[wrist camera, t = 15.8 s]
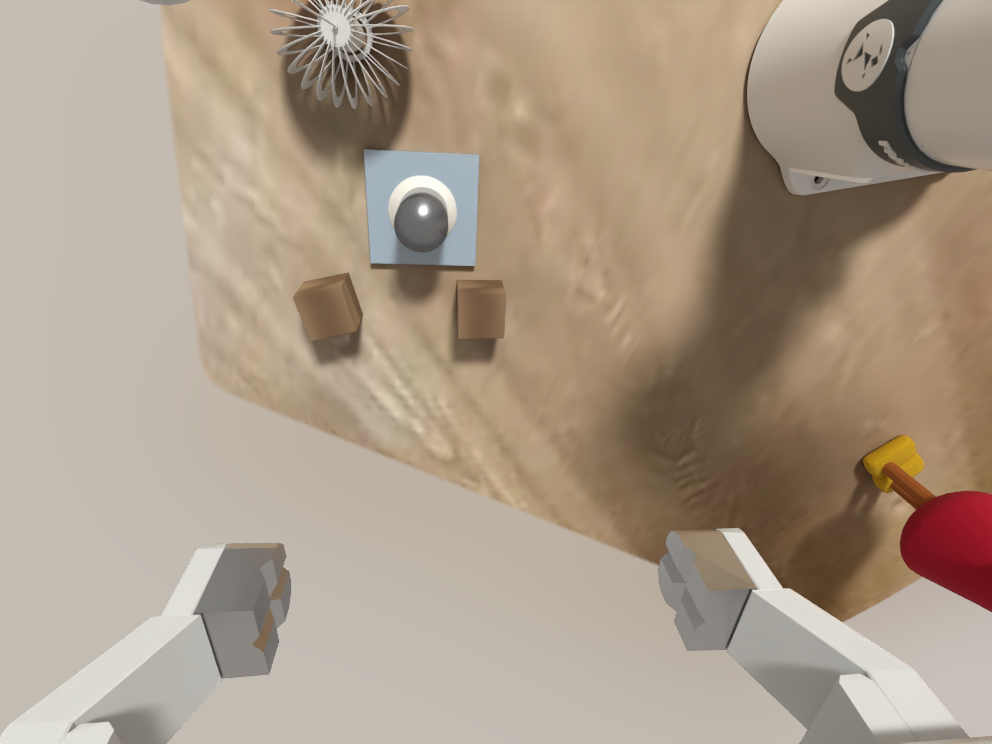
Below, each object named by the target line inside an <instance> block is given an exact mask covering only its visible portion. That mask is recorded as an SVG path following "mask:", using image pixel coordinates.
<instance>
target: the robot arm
mask: <svg viewBox="0 0 992 744" xmlns="http://www.w3.org/2000/svg"><path fill="white" fill-rule="evenodd" d="M747 104H748V112H749V117H750V121H751V124H752V127H753V130H754V132H755V134H756V136H757V138H758V140H759V141H760V143H761V144H762V146H763V147H764V148H765V149H766V150H767V151H768V152H769V153H770V154H771V155H772V156H773V157H774V158H775V160H776V161H777V162H778V164H779V165H780V169H781V173H782V177H783V180H784V183H785V186H786V188H787V190H788V191H789V192H790V193H791V194H795V195H810V194H816V193H822V192H828V191H834V190H840V189H846V188H852V187H858V186H864V185H870V184H876V183H882V182H888V181H894V180H900V179H906V178H912V177H919V176H925V175H931V174H937V173H945V172H950V173H953V172H966V171H971V170H976V169H980V170H987V171H992V0H783V1H782V3H781V4H780V5H779V7H778V8H777V9H776V11H775V12H774V14H773V15H772V17H771V18H770V20H769V22H768V23H767V25H766V27H765V29H764V31H763V32H762V35H761V37H760V39H759V41H758V44H757V46H756V49H755V52H754V55H753V58H752V62H751V66H750V70H749V76H748V85H747ZM815 176H819V177H818V180H817V181H816V182H814V178H815ZM665 544H666V546H667V548H668V550H669V552H668V553H666V554H665V555H664V556H663V557H662V558H661V560H660V565H659V569H658V572H659V584H660V588H661V592H662V594H663V597H664V599H665V601H666V603H667V604H668V605H669V606H671V607H672V608H673V609H674V610H676V611H677V614H676V618H675V621H674V622H675V624H676V626H677V629H678V631H679V633H680V635H681V638H682V640H683V642H684V644H685V647H686V648H687V650H688V651H690V650H691V651H692V650H693V651H695V650H727V653H728V654H729V655H730V656H731V657H732V658H733V659H735V660H736V661H737V662H738V663H739V664H740V665H741V666H742V667H743V668H744V669H745V670H746V671H747V672H748V673H749V674H750V675H751V676H752V677H753V678H754V679H755V680H756V681H757V682H758V683H760V684H761V685H762V686H763V687H764V688H765V689H766V690H767V691H768V692H769V693H770V694H771V695H772V696H773V697H774V698H775V699H776V700H777V701H778V702H779V703H780V704H781V705H782V706H784V707H785V708H786V709H787V710H788V711H789V712H790V713H791V714H792V715H793V716H794V717H795V718H796V719H797V720H798V721H799V722H800V723H801V724H802V725H803V726H804V727H805V728H806V729H808V730H807V732H806V733H805V735H804V737H803V739H802V740H801V742H800V744H992V736H986V737H974V738H969V736H968V735H967V734H966V733H965V731H964V730H963V729H962V728H961V727H960V726H959V724H958V723H957V722H956V720H955V719H954V718H953V717H952V716H951V714H950V713H949V712H948V711H947V710H946V708H945V707H944V706H943V705H942V703H941V702H940V701H939V700H938V699H937V697H936V696H935V695H934V694H933V692H932V691H931V690H930V689H929V687H928V686H927V685H926V684H925V683H924V681H923V680H922V679H921V678H920V677H919V675H918V674H917V673H916V672H915V670H914V669H913V668H911V667H910V666H908V665H906V664H905V663H903V662H902V661H900V660H899V659H897V658H896V657H894V656H893V655H891V654H890V653H888V652H887V651H885V650H883V649H882V648H880V647H879V646H877V645H876V644H874V643H873V642H871V641H870V640H868V639H867V638H865V637H864V636H862V635H861V634H859V633H857V632H856V631H854V630H853V629H851V628H850V627H848V626H847V625H845V624H844V623H842V622H841V621H839V620H838V619H836V618H834V617H833V616H831V615H830V614H828V613H827V612H825V611H824V610H822V609H821V608H819V607H818V606H816V605H815V604H813V603H811V602H810V601H808V600H807V599H805V598H804V597H802V596H801V595H799V594H798V593H796V592H795V591H793V590H792V589H783V587H782V586H781V585H780V583H779V582H778V580H777V579H776V577H775V576H774V575H773V573H772V572H771V570H770V569H769V567H768V566H767V565H766V563H765V562H764V560H763V559H762V557H761V556H760V555H759V553H758V552H757V550H756V549H755V547H754V546H753V545H752V543H751V542H750V540H749V539H748V537H747V536H746V535H745V533H744V532H743V531H742V530H740V529H739V528H724V529H698V530H674V531H671V532H670V533H669V534H668V536H667V539H666V543H665ZM285 558H286V553H285V549H284V545H283V544H281V543H243V544H241V543H238V544H234V543H233V544H203V545H202V546H201V547H199V548H198V549H197V550H196V552H195V553H194V555H193V557H192V559H191V561H190V563H189V565H188V566H187V568H186V570H185V572H184V574H183V576H182V577H181V579H180V581H179V583H178V585H177V587H176V589H175V590H174V592H173V594H172V596H171V598H170V599H169V601H168V603H167V605H166V607H165V609H164V611H163V612H162V614H161V616H157V617H151V618H150V619H148V620H147V621H146V622H145V623H143V624H142V625H140V626H139V627H138V628H137V629H135V630H134V631H133V632H131V633H130V634H129V635H127V636H126V637H125V638H123V639H122V640H121V641H119V642H118V643H117V644H115V645H114V646H113V647H111V648H110V649H109V650H107V651H106V652H105V653H103V654H102V655H101V656H100V657H98V658H97V659H96V660H95V661H93V662H92V663H91V664H89V665H88V666H87V667H85V668H84V669H82V670H81V671H80V672H78V673H77V674H76V675H74V676H73V677H72V678H71V679H69V680H68V681H67V682H66V683H64V684H63V685H61V686H60V687H59V688H57V689H56V690H55V691H53V692H52V693H51V694H50V695H48V696H47V697H46V698H44V699H43V700H41V701H40V702H39V703H38V704H36V705H35V706H34V707H32V708H31V709H30V710H29V711H27V712H26V713H24V714H23V715H22V716H20V717H19V718H18V719H16V720H15V721H14V722H12V723H11V724H10V725H9V726H8V727H7V728H6V730H5V731H4V733H3V734H2V736H1V737H0V744H166V743H167V742H168V741H169V740H170V739H171V738H172V737H173V736H174V734H175V733H176V732H177V731H178V730H179V729H180V728H181V727H182V725H183V724H184V723H185V722H186V721H187V720H188V719H189V718H190V717H191V715H192V714H193V713H194V712H195V711H196V710H197V709H198V708H199V706H200V705H201V704H202V703H203V702H204V701H205V700H206V699H207V698H208V696H209V695H210V694H211V693H212V692H213V691H214V690H215V689H216V687H217V686H218V685H219V684H220V683H221V682H222V680H221V678H233V677H245V676H257V675H268V674H269V673H270V670H271V666H272V663H273V660H274V657H275V653H276V650H277V647H278V643H279V639H278V634H277V628H278V627H279V626H280V625H281V624H282V623H283V622H284V621H285V620H286V616H287V612H288V609H289V604H290V595H291V579H290V573H289V571H288V570H286V569H285V568H284V567H283V565H284V561H285Z"/></svg>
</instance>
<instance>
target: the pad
mask: <svg viewBox="0 0 992 744" xmlns="http://www.w3.org/2000/svg"><path fill="white" fill-rule="evenodd" d="M364 162H365V179H366V195H367V212H368V228H369V245H370V261H371V263H382V264H419V265H457V266H475V258H476V230H477V202H478V174H479V155H475V154H455V153H434V152H414V151H394V150H374V149H364ZM417 187H427V188H431V189H433V190H435V191H436V192H438V193H439V194H440V195H441V196H442V197H443V199H444V200H445V203H446V205H447V210H448V233H447V236H446V239H445V240H444V242H443V243H442V244H441V245H440V246H439V247H438V248H436V249H435V250H433V251H430V252H424V253H421V252H415V251H412V250H410V249H408V248H406V247H405V246H404V245H403V244H402V243H401V242H400V241H399V239H398V238H397V236H396V233H395V229H394V219H395V215H396V212H397V210H398V207H399V204H400V202H401V200H402V198H403V196H404V195H405V194H406V193H407V192H408V191H410V190H411V189H414V188H417Z"/></svg>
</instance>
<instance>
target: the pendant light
mask: <svg viewBox="0 0 992 744" xmlns="http://www.w3.org/2000/svg"><path fill="white" fill-rule="evenodd" d="M141 1H145V2H148V3H151V4H160V5H173V4H180V3H185V2H187V1H189V0H141ZM291 1H292V2H294V3H296V4H297V5H299V6H301V7H302V8H304V9H306V10H307V11H309V12H311V13H312V14H314V15H316V16H318V17H317V20H315V19H311V18H307V17H303V16H300V15H296V14H292V13H288V12H283V11H279V10H274V9H268V11H270V12H272V13H275V14H277V15H280V16H283V17H286V18H289V19H292V20H295V21H299V22H302V23H305V24H309V25H312V26H297V27H285V28H277V29H273V30H271V31H270V33H272V34H275V35H282V36H293V37H302V38H300V39H297V40H295V41H293V42H291V43H289V44H287V45H285V46H283V47H281V48H280V49H279V50H278V51H277V54H278V55H290V54H296V53H301V52H302V53H301V54H300V55H299V56H298V57H297V58H296V59H295V60H294V61H293V62H292V63H291V65H290V66H289V68H288V70H287V72H288V73H289V74H294V73H297V72H299V71H302V70H304V69H306V68H307V67H308V68H307V70H306V72H305V74H304V77H303V79H302V83H301V88H302V89H307V88H309V87H310V86H312V85H313V84H314V83H315V82H316V81H317V80H318V79H319V80H318V86H317V99H318V100H319V101H321V100H323V99H324V98H325V97H326V95H327V94H328V92H329V91H330V89H331V87H332V95H333V102H334V105H335V107H339V106H340V105H341V102H342V100H343V96H344V92H345V88H346V91H347V95H348V98H349V101H350V104H351V106H352V108H353V109H356V108H357V103H358V86H357V83H358V85H359V87H360V89H361V91H362V93H363V95H364V97H365V99H366V101H367V102H368V104H369V105H370V106H373V100H372V95H371V91H370V87H369V84H368V81H367V78H366V75H365V72H366V74H367V75H368V77H369V78H370V79H371V81H372V82H373V83H374V85H375V86H376V87H377V89H378V90H379V91H380V93H381V94H382V95H383V96H384V97H385V98H387V94H386V92H385V90H384V88H383V86H382V84H381V82H380V81H379V79H378V77H377V75H376V74H375V72H374V71H373V69H372V67H371V66H370V64H369V63H368V61H367V59H366V58H365V57H367V58H368V59H369V60H370V61H371V62H373V61H372V60H371V59H370V58H369V57H368V56H367V55H368V54H369V55H370V56H371V57H372V58H373V59H374V60H375V61H376V62H377V63H378V64H379V65H380V66H381V67H382V68H383V69H384V70H385V71H386V72H387V73H388V74H389V75H390V76H389V75H388V74H387V73H385V72H384V71H383V70H382V69H381V68H380V67H379V66H378V65H377V64H376V63H374V62H373V63H374V64H375V65H376V66H377V67H378V68H379V69H380V70H381V71H382V72H383V73H384V74H385V75H387V76H388V77H389V78H390V79H391V80H392V81H393V82H394V83H396V84H397V85H398V86H399V83H398V82H397V81H396V80H395V79H394V78H393V77H392V76H391V74H390V73H389V72H388V71H387V70H386V69H385V68H384V67H383V66H382V65H381V64H380V63H379V62H378V61H377V60H376V59H375V58H374V57H373V56H372V55H371V54H370V53H369V52H370V50H371V48H372V49H373V50H375V51H377V52H379V53H380V54H382V55H384V56H385V57H387V58H389V59H390V60H392V61H394V62H396V63H397V64H399V65H401V66H402V67H404V68H406V67H405V66H403V65H402V64H400V63H398V62H397V61H395V60H393V59H392V58H390V57H388V56H387V55H385V54H383V53H381V52H380V51H378V50H376V49H375V48H373V47H372V44H373V42H374V43H378V44H382V45H386V46H390V47H394V48H398V49H403V50H408V51H413V49H412V48H410V47H407V46H405V45H402V44H399V43H396V42H393V41H389V40H386V39H383V38H379V37H376V36H373V35H391V34H401V33H407V32H411V31H413V30H414V28H413V27H410V26H403V25H388V24H385V23H387V22H389V21H392V20H394V19H396V18H398V17H400V16H401V15H403V14H404V13H406V12H407V11H408V10H409V6H407V5H399V6H393V7H389V8H386V7H387V6H388V5H389V4H390V3H391V2H392V1H393V0H388V2H387V3H386V4H385V5H384V6H383V7H382V8H381V9H380V10H378V11H374V12H371V13H368V14H367V12H368V11H369V9H370V8H371V6H372V4H373V3H374V1H375V0H367V1H366V2H364V3H363V4H362V2H363V0H361V1H360V4H359V7H357V8H356V9H353V8H354V2H355V1H356V0H352V1H351V2H350V4H349V5H348V6H347V3H346V0H343V2H342V5H341V6H340V4H339V0H336V5H335V4H334V2H333V0H331V3H330V2H329V0H325V2H326V4H327V6H325V7H324V5H323V4H322V2H321V1H320V0H318V1H319V3H320V4H321V5H320V4H318V3H317V2H316V1H315V0H314V1H315V2H316V3H317V4H318V5H319V6H320V7H321V8H322V10H320V9H319V8H318V7H317V6H316V5H315V4H314V3H313V2H312V1H311V0H309V1H310V2H311V3H312V4H313V5H314V6H315V7H316V8H317V9H318V10H319V11H320V12H319V14H317V13H316V12H314V11H313V10H311V9H309V8H308V7H306V6H305V5H303V4H302V3H300V2H299V1H297V0H291ZM370 2H371V3H370ZM328 3H329V4H328ZM368 3H370V5H369V6H368V8H367V9H366V11H365V12H364V14H363V15H362V14H361V13H360V12H359V11H360V9H361V8H362V7H364V6H365V5H367V4H368ZM344 5H345V8H344ZM351 6H352V7H351ZM350 7H351V8H350ZM390 10H400V12H399V13H398V14H397V15H395V16H394V17H392V18H390V19H388V20H386V21H384V22H381V23H379V24H369V21H371V20H372V19H373V18H375V17H376V16H377V15H378V14H379V13H381V12H385V11H390ZM281 13H283V14H288V15H292V16H296V17H300V18H304V19H308V20H312V21H316V22H317V25H314V24H310V23H307V22H304V21H300V20H297V19H294V18H291V17H288V16H286V15H283V14H281ZM371 15H373V16H372V17H371V18H370V19H368V20H367V19H366V18H365V17H367V16H371ZM352 16H355V17H356V18H353V17H352ZM358 19H359V20H360V21H361V22H362V23H363V24H360V23H359V22H358V21H357V20H358ZM362 27H365V29H366V31H367V34H366V33H364V32H363V29H362ZM375 27H396V28H402V29H404V30H402V31H398V32H391V33H376V34H373V33H372V28H375ZM303 28H318V31H317V32H314V33H312V34H309V35H294V34H287V33H283V32H281V31H285V30H291V29H303ZM317 34H320V35H317ZM364 35H367V44H366V43H365V42H363V41H364ZM309 37H319V38H318V39H317V40H315V41H314V42H313V43H312V44H311V45H310V46H308V47H307V48H306V49H303V50H297V51H287V49H288V48H289V47H290V46H292V45H294V44H296V43H298V42H300V41H302V40H304V39H307V38H309ZM373 37H374V38H377V39H380V40H384V41H387V42H390V43H393V44H396V45H399V46H401V47H396V46H392V45H388V44H384V43H380V42H376V41H373ZM321 39H323V40H324V42H323V43H322V44H321V45H318V46H315V47H313V46H314V45H315V44H317V43H318V42H319V41H320V40H321ZM363 43H364V44H366V47H365V48H364V50H363V51H362V50H361V49H360V48H361V46H362V44H363ZM327 44H328V47H327V50H326V53H325V54H323V55H322V56H320V57H319V58H318V59H317V57H318V55H319V53H320V52H321V50H322V49H323V47H324V46H325V45H327ZM319 47H320V48H319ZM330 47H331V49H330ZM315 48H319V49H318V51H317V53H316V54H315V56H314V58H313V59H312V61H311V63H309V64H307V65H305V66H301V67H296V64H297V62H298V61H299V60H300V59H301V57H302V56H303V55H304V54H305V53H306V52H308V51H309V50H312V49H315ZM332 50H333V55H332V60H331V61H330V63H329V64H328V65H327V66H326V68H325V69H324V67H325V64H326V60H327V57H328V54H329V53H330V52H331V51H332ZM341 50H343V51H344V52H345V53H343V52H342V51H341ZM357 50H360V51H361V53H359V54H357V55H355V53H354V52H356V51H357ZM347 52H352V53H353V55H352V56H351V55H348V54H347ZM324 56H325V57H324ZM337 56H339V57H340V62H339V65H338V68H337V70H336V73H335V58H336V57H337ZM323 57H324V60H323V64H322V67H321V71H320V74H319V75H318V76H317V77H316V78H314V79H313V80H311V81H308V75H309V72H310V70H311V68H312V66H313V64H314V63H316V62H317V61H319V60H320V59H322V58H323ZM363 58H364V59H365V60H366V62H367V64H368V65H369V67H370V68H371V70H372V72H373V73H374V75H375V77H376V78H377V80H378V82H379V84H380V87H381V88H380V87H379V86H378V85H377V84H376V83H375V82H374V80H373V79H372V78H371V76H370V75H369V73H368V72H367V71H366V69H365V68H364V66H363V65H362V63H361V61H360V60H362V59H363ZM343 60H346V61H347V65H346V74H345V71H344V66H343ZM356 61H358V62H359V64H360V66H361V68H362V71H363V74H364V77H365V80H366V84H367V88H368V95H367V94H366V93H365V91H364V90H363V88H362V86H361V84H360V82H359V80H358V78H357V75H356V67H355V62H356ZM351 62H353V66H354V68H353V66H352V64H351ZM331 64H332V81H331V83H330V85H329V86H328V87H327V88H326V89H325V90H324V91H322V89H321V83H322V76H323V74H324V73H325V71H326V70H327V69H328V68H329V66H330V65H331ZM349 64H350V66H351V69H352V71H353V74H354V76H355V97H354V99H353V98H352V96H351V94H350V91H349V88H348V85H347V75H348V66H349ZM340 66H341V68H342V73H343V78H344V85H343V89H342V92H341V94H340V96H339V97H337V95H336V91H335V79H336V76H337V74H338V71H339V69H340ZM406 69H408V68H406ZM364 71H365V72H364ZM334 73H335V75H334Z"/></svg>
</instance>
